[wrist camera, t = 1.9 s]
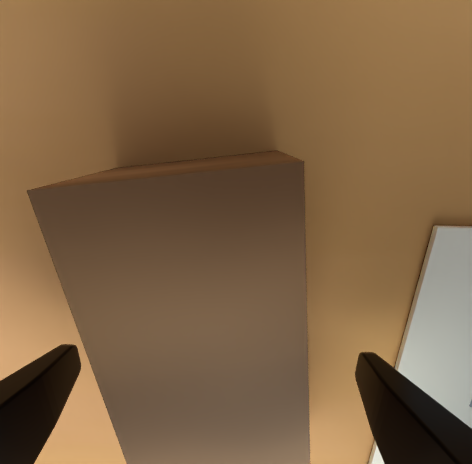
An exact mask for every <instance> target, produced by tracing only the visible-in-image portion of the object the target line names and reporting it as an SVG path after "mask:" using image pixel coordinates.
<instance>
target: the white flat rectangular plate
mask: <svg viewBox="0 0 472 464" xmlns="http://www.w3.org/2000/svg"><path fill="white" fill-rule="evenodd" d="M395 369H396V370H397V371H398V372H400V373H401V374H402V375H404V376H405V377H406V378H407V379H409V380H410V381H411V382H413V383H414V384H415V385H416V386H418V387H419V388H420V389H422V390H423V391H424V392H425V393H427V394H428V395H429V396H431V397H432V398H433V399H434V400H436V401H437V402H438V403H440V404H441V405H442V406H443V407H445V408H446V409H447V410H449V411H450V412H451V413H452V414H454V415H455V416H456V417H458V418H459V419H460V420H461V421H463V422H464V423H465V424H467V425H468V426H469V427H470V428H472V226H434V227H433V230H432V234H431V238H430V241H429V245H428V248H427V252H426V256H425V259H424V263H423V267H422V270H421V274H420V278H419V281H418V285H417V288H416V292H415V296H414V299H413V303H412V307H411V310H410V314H409V317H408V321H407V325H406V328H405V332H404V336H403V339H402V343H401V347H400V350H399V354H398V357H397V361H396V365H395ZM368 464H384V461H383V459H382V456H381V454H380V452H379V449H378V447H377V444H376V442H375V441H374V445H373V448H372V452H371V456H370V459H369V463H368Z"/></svg>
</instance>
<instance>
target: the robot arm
mask: <svg viewBox="0 0 472 464" xmlns="http://www.w3.org/2000/svg"><path fill="white" fill-rule="evenodd" d="M80 370H81V362H80V357H79V353H78V349H77V346H76V345H72V344H63V345H60V346H58V347H57V348H55V349H53V350H51V351H50V352H48V353H46V354H45V355H43V356H41V357H40V358H38V359H36V360H35V361H33V362H31V363H30V364H28V365H26V366H25V367H23V368H21V369H20V370H18V371H16V372H15V373H13V374H11V375H9V376H8V377H6V378H4V379H3V380H1V381H0V464H34V462H35V461H36V459H37V457H38V455H39V454H40V452H41V450H42V448H43V447H44V445H45V443H46V441H47V439H48V438H49V436H50V434H51V432H52V430H53V429H54V427H55V425H56V423H57V421H58V419H59V417H60V415H61V413H62V410H63V408H64V406H65V404H66V402H67V399H68V397H69V395H70V393H71V391H72V388H73V386H74V384H75V382H76V380H77V377H78V375H79V373H80ZM355 377H356V382H357V385H358V388H359V392H360V395H361V398H362V401H363V405H364V408H365V411H366V415H367V418H368V421H369V425H370V428H371V431H372V434H373V436H374V439H375V442H376V444H377V447H378V449H379V452H380V454H381V456H382V459H383V461H384V464H472V428H470V427H469V426H468V425H467V424H465V423H464V422H463V421H461V420H460V419H459V418H458V417H456V416H455V415H454V414H452V413H451V412H450V411H449V410H447V409H446V408H445V407H443V406H442V405H441V404H440V403H438V402H437V401H436V400H434V399H433V398H432V397H431V396H429V395H428V394H427V393H425V392H424V391H423V390H422V389H420V388H419V387H418V386H416V385H415V384H414V383H413V382H411V381H410V380H409V379H407V378H406V377H405V376H404V375H402V374H401V373H400V372H398V371H397V370H396V369H395V368H393V367H392V366H391V365H389V364H388V363H387V362H386V361H384V360H383V359H382V358H380V357H379V356H378V355H377V354H375V353H372V352H361V353H360V354H359V357H358V361H357V366H356V371H355Z"/></svg>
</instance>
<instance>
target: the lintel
mask: <svg viewBox="0 0 472 464" xmlns="http://www.w3.org/2000/svg"><path fill="white" fill-rule="evenodd" d="M27 193H28V195H29V198H30V201H31V203H32V206H33V209H34V212H35V214H36V217H37V220H38V223H39V225H40V228H41V231H42V233H43V236H44V239H45V242H46V244H47V247H48V250H49V253H50V255H51V258H52V261H53V263H54V266H55V269H56V272H57V274H58V277H59V280H60V283H61V285H62V288H63V291H64V293H65V296H66V299H67V302H68V304H69V307H70V310H71V313H72V315H73V318H74V321H75V323H76V326H77V329H78V332H79V334H80V337H81V340H82V343H83V345H84V348H85V351H86V353H87V356H88V359H89V362H90V364H91V367H92V370H93V373H94V375H95V378H96V381H97V383H98V386H99V389H100V392H101V394H102V397H103V400H104V403H105V405H106V408H107V411H108V413H109V416H110V419H111V422H112V424H113V427H114V430H115V433H116V435H117V438H118V441H119V443H120V446H121V449H122V452H123V454H124V457H125V460H126V463H127V464H310V434H309V386H308V337H307V289H306V240H305V192H304V161H302V160H299V159H297V158H294V157H292V156H289V155H287V154H284V153H282V152H279V151H269V152H260V153H251V154H242V155H232V156H223V157H214V158H205V159H195V160H186V161H177V162H168V163H158V164H149V165H140V166H131V167H121V168H115V169H111V170H107V171H103V172H99V173H95V174H91V175H87V176H83V177H79V178H75V179H71V180H67V181H63V182H59V183H55V184H51V185H47V186H43V187H39V188H35V189H31V190H27Z"/></svg>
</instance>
